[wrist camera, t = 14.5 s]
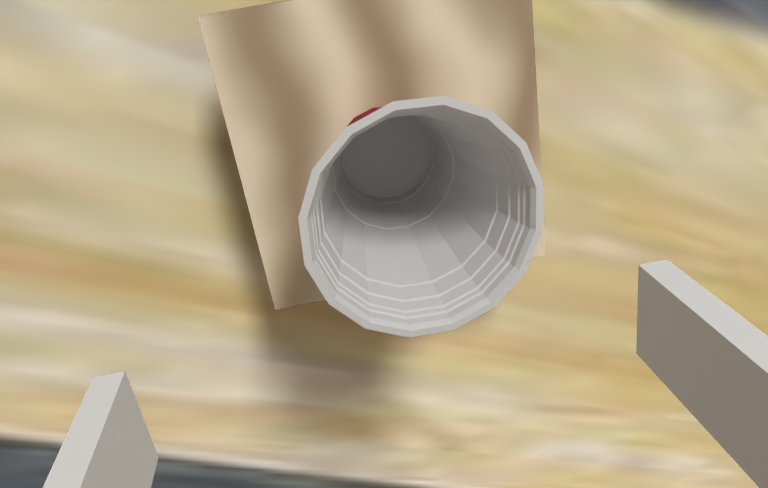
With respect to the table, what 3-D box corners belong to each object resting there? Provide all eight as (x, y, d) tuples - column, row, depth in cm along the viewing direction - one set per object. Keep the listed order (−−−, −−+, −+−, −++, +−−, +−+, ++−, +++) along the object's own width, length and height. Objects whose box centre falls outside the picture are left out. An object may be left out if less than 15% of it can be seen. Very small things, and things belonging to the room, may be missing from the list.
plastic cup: (510, 163, 39) (596, 240, 28) (372, 268, 40) (403, 380, 30) (406, 15, 35) (459, 38, 24) (256, 139, 36) (241, 215, 25)
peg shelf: (277, 260, 48) (275, 310, 41) (213, 8, 40) (197, 17, 33) (510, 214, 49) (545, 255, 42) (490, -40, 41) (529, -41, 34)
